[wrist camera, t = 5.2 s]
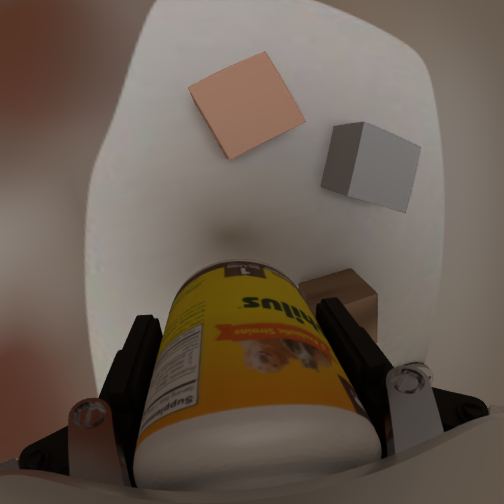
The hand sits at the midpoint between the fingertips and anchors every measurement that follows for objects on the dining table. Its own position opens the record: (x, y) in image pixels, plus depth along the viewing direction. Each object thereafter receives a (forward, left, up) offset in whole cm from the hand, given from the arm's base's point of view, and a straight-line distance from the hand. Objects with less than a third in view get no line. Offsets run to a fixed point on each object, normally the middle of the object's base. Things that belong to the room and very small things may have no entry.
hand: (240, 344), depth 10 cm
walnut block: (-7, -9, -13) cm, 17 cm away
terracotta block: (+9, -2, -13) cm, 16 cm away
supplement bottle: (0, 0, -2) cm, 2 cm away
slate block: (+5, -11, -13) cm, 18 cm away
